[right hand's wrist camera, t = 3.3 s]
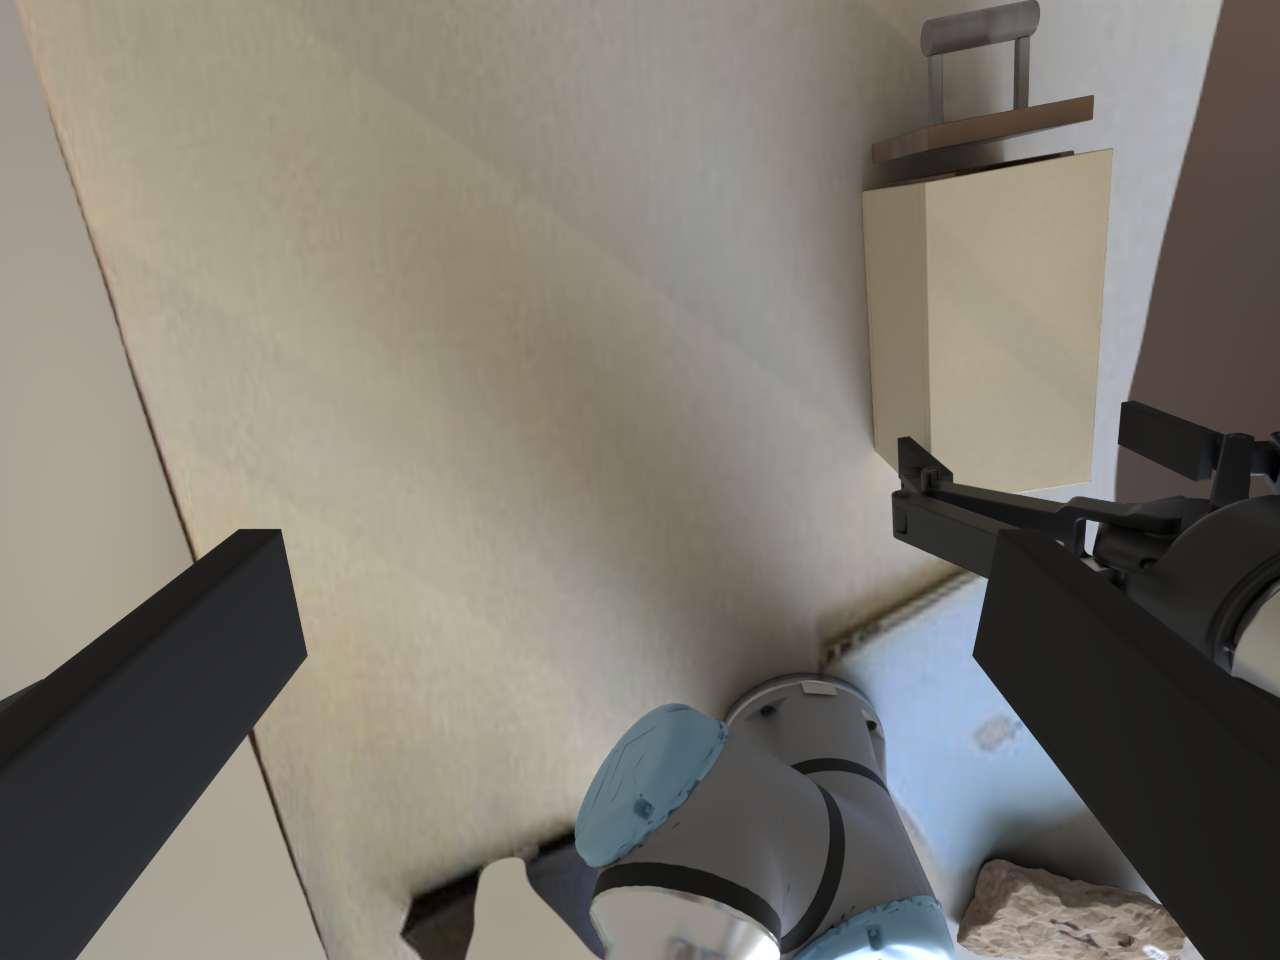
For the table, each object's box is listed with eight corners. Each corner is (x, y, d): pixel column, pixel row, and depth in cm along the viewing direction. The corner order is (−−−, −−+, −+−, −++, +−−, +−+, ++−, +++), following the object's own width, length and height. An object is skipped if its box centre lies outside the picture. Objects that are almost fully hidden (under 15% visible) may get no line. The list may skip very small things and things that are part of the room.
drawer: (867, 50, 44) (925, 6, 35) (1006, 23, 43) (1101, -29, 34) (883, 405, 52) (934, 443, 43) (1000, 386, 52) (1075, 420, 43)
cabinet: (861, 191, 48) (924, 182, 37) (1006, 164, 47) (1113, 147, 36) (874, 451, 54) (931, 506, 44) (1001, 430, 54) (1090, 482, 43)
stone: (1215, 884, 67) (1248, 951, 62) (1135, 949, 75) (1159, 1013, 70) (997, 829, 69) (1013, 890, 64) (943, 898, 77) (953, 957, 72)
